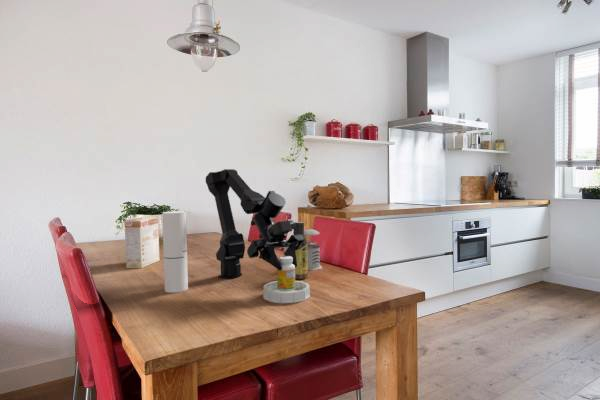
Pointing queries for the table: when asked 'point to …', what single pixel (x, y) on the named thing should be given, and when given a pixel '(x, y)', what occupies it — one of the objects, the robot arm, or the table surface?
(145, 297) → the table surface
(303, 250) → the sauce bottle
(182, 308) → the table surface
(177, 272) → the cylindrical container
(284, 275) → the supplement bottle
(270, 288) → the dish
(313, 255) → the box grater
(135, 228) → the coffeecake box
